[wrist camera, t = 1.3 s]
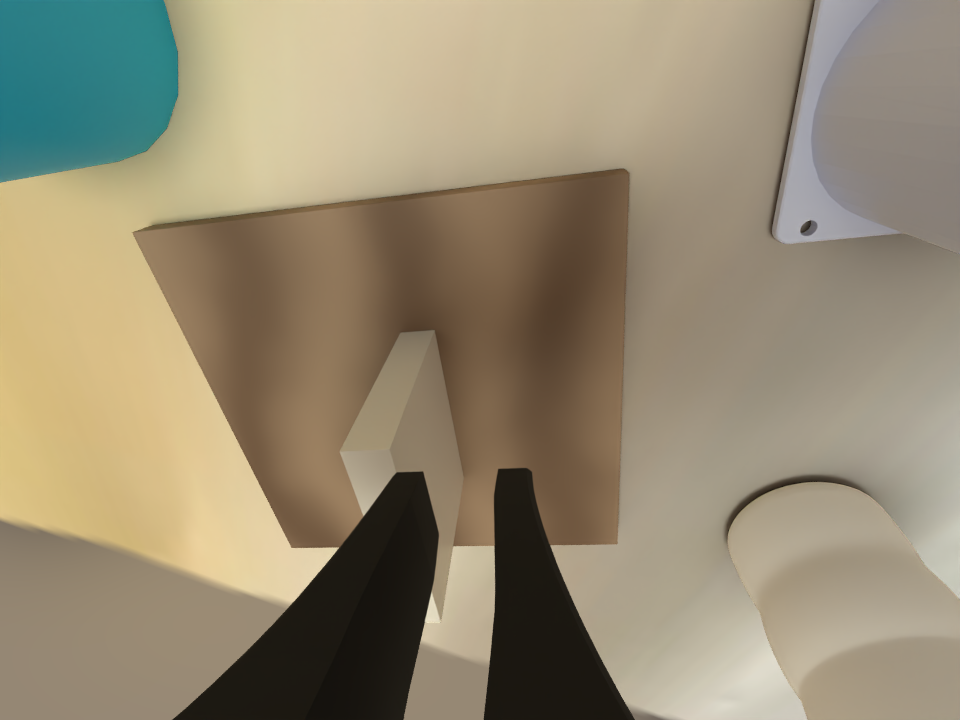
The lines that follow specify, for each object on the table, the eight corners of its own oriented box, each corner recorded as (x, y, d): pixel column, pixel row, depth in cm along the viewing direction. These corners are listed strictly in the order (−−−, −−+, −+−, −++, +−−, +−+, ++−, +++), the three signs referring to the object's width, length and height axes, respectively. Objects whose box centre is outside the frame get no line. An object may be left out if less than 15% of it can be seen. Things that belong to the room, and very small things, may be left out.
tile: (434, 329, 18) (389, 449, 12) (463, 477, 22) (441, 622, 16) (396, 333, 18) (334, 451, 12) (432, 478, 22) (398, 622, 16)
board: (623, 168, 15) (629, 173, 15) (614, 528, 24) (617, 544, 24) (151, 225, 18) (132, 232, 17) (299, 533, 27) (291, 547, 26)
